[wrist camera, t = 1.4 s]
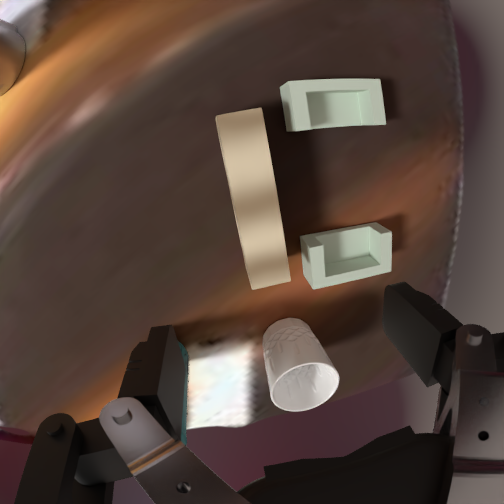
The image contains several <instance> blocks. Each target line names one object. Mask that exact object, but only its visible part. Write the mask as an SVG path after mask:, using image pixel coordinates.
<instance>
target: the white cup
mask: <svg viewBox="0 0 504 504" xmlns="http://www.w3.org/2000/svg"><path fill="white" fill-rule="evenodd" d="M262 345H263V350H264V360H265V367H266V373H267V378H268V384H269V389H270V395H271V399H272V401H273V403H274V404H275V405H276V406H277V407H279V408H281V409H283V410H287V411H304V410H308V409H312V408H314V407H317V406H319V405H321V404H322V403H324V402H325V401H327V400H328V399H329V398H330V397H331V396H332V395H333V394H334V392H335V391H336V389H337V387H338V384H339V374H338V372H337V370H336V369H335V367H334V365H333V364H332V362H331V360H330V359H329V357H328V355H327V354H326V352H325V350H324V348H323V347H322V345H321V344H320V342H319V341H318V339H317V338H316V336H315V335H314V334H313V332H312V331H311V329H310V327H309V325H308V324H306V323H305V322H304V321H302V320H301V319H296V318H286V319H281V320H278V321H276V322H275V323H273V324H272V325H271V326H269V327H268V329H267V330H266V332H265V333H264V335H263V344H262Z"/></svg>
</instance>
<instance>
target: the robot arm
mask: <svg viewBox="0 0 504 504" xmlns="http://www.w3.org/2000/svg"><path fill="white" fill-rule="evenodd" d="M24 59H25V43H24V40H23V38H22V36H21V35H19V34H18V33H17V31H16V26H15V25H13V24H10V23H8V22H6V21H4V20H1V19H0V96H1V95H2V94H4V93H5V92H6V91H7V90H8V89H9V88H10V87H11V86H12V85H13V83H14V82H15V81H16V79H17V77H18V75H19V73H20V71H21V69H22V66H23V63H24ZM382 324H383V329H384V332H385V334H386V335H387V337H388V338H389V339H390V340H391V342H392V343H393V344H394V345H395V347H396V348H397V349H398V350H399V352H400V353H401V354H402V355H403V357H404V358H405V359H406V361H407V362H408V363H409V364H410V366H411V367H412V368H413V369H414V371H415V372H416V373H417V375H418V376H419V377H420V378H421V380H422V381H423V382H424V384H425V385H426V386H427V387H429V386H432V385H434V384H436V383H439V384H440V385H441V387H440V390H439V394H438V401H437V408H436V415H435V421H434V428H433V432H432V433H419V434H415V433H414V431H413V430H412V428H411V427H410V426H407V427H405V428H402V429H400V430H397V431H395V432H392V433H389V434H386V435H383V436H381V437H378V438H376V439H374V440H373V441H371V442H370V443H368V444H366V445H365V446H363V447H361V448H359V449H358V450H356V451H354V452H352V453H351V454H349V455H347V456H344V457H336V458H318V459H317V458H316V459H300V460H296V461H291V462H286V463H280V464H275V465H269V466H264V471H265V476H264V477H262V478H259V479H257V480H255V481H253V482H251V483H249V484H248V485H246V486H244V487H243V488H241V489H240V490H239V491H238V492H236V491H235V490H234V489H233V488H231V487H230V486H229V485H228V484H227V483H225V482H224V481H223V480H222V479H221V478H220V477H219V476H217V475H216V474H215V473H214V472H213V471H212V470H211V469H209V467H207V466H206V465H205V464H204V463H203V462H202V461H201V460H200V459H199V458H198V457H197V456H196V455H195V454H194V453H193V452H192V451H190V449H189V448H187V447H186V446H185V445H184V444H183V443H182V442H181V431H182V414H183V400H184V386H185V364H184V359H183V356H182V353H181V350H180V347H179V344H178V340H177V337H176V334H175V331H174V328H173V326H172V325H166V326H158V327H152V328H151V330H150V333H149V337H148V340H147V342H140V343H139V344H138V345H137V346H136V347H135V348H134V350H133V351H132V353H131V356H130V359H129V363H128V365H127V368H126V370H127V371H125V375H124V378H123V381H122V384H121V388H120V391H119V395H118V398H117V399H115V400H113V401H111V402H109V403H108V404H107V405H105V406H104V408H103V409H102V410H101V412H100V416H99V418H96V419H93V420H89V421H85V422H81V423H76V422H75V421H74V419H73V418H72V417H71V416H70V415H68V414H64V413H58V414H54V415H51V416H49V417H48V418H46V419H45V420H44V421H43V422H42V423H41V424H40V426H39V428H38V431H37V433H36V436H35V439H34V442H33V444H32V447H31V450H30V453H29V456H28V459H27V462H26V465H25V468H24V471H23V475H22V478H21V481H20V485H19V488H18V492H17V495H16V499H15V503H14V504H112V500H113V489H114V481H117V480H121V479H125V478H129V477H133V476H134V477H135V479H136V480H137V481H138V483H139V484H140V485H141V487H142V488H143V489H144V490H145V492H146V493H147V494H148V496H149V497H150V498H151V500H152V501H153V502H154V503H155V504H504V332H503V333H496V334H491V333H490V332H489V330H487V329H486V328H485V327H482V326H480V325H476V324H466V325H463V324H462V323H460V322H459V321H458V320H457V319H456V318H455V317H454V316H452V315H451V314H450V313H449V312H448V311H447V310H445V309H443V307H442V306H441V305H440V304H437V302H436V301H435V300H434V299H432V298H431V297H430V296H429V295H426V294H424V293H422V292H419V291H416V290H415V289H413V288H412V287H411V286H410V285H409V284H407V283H406V282H400V283H396V284H392V285H388V286H386V288H385V293H384V306H383V318H382Z"/></svg>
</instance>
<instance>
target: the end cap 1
mask: <svg viewBox="0 0 504 504" xmlns="http://www.w3.org/2000/svg"><path fill="white" fill-rule="evenodd" d="M280 92H281V98H282V104H283V111H284V117H285V124H286V131H287V132H288V131H302V130H311V129H317V128H328V127H341V126H356V125H386V119H385V110H384V103H383V95H382V89H381V82H380V79H318V80H300V81H288V82H287V83H285V84H284V85H282V86H281V87H280Z"/></svg>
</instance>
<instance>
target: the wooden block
mask: <svg viewBox="0 0 504 504" xmlns="http://www.w3.org/2000/svg"><path fill="white" fill-rule="evenodd" d="M215 120H216V125H217V130H218V135H219V140H220V145H221V150H222V155H223V160H224V164H225V169H226V174H227V179H228V184H229V189H230V194H231V198H232V203H233V208H234V213H235V218H236V223H237V227H238V232H239V237H240V242H241V246H242V251H243V256H244V261H245V265H246V269H247V273H248V277H249V280H250V284H251V288H252V290H254V289H258V288H263V287H267V286H272V285H276V284H280V283H285V282H289V281H291V279H290V272H289V265H288V259H287V252H286V246H285V239H284V233H283V227H282V220H281V214H280V208H279V202H278V196H277V190H276V184H275V179H274V173H273V167H272V161H271V156H270V150H269V145H268V139H267V134H266V128H265V123H264V118H263V113H262V108H256V109H250V110H244V111H238V112H233V113H228V114H222V115H217V116H216V119H215Z"/></svg>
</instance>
